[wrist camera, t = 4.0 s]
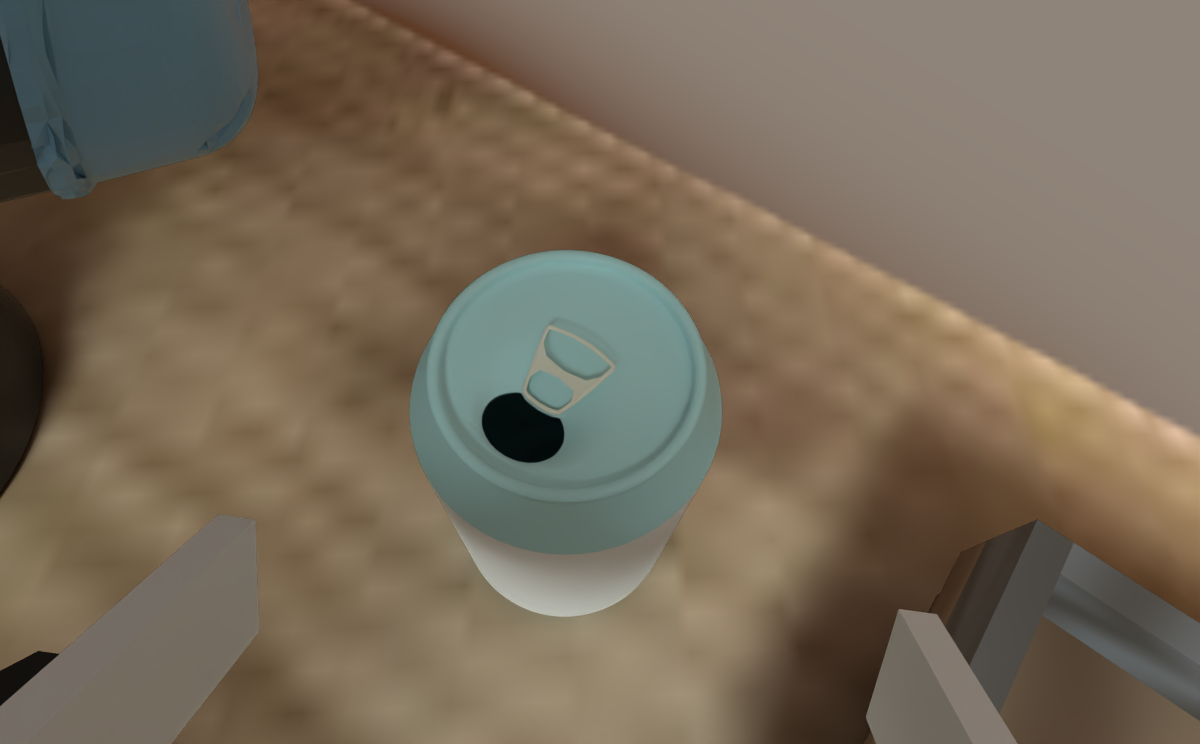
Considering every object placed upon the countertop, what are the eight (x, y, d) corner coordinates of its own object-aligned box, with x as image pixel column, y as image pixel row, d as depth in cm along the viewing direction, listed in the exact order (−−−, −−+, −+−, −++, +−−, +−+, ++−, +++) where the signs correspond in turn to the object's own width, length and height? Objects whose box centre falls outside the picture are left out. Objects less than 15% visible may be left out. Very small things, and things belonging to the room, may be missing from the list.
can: (674, 613, 24) (764, 525, 13) (463, 624, 23) (377, 542, 13) (655, 420, 27) (715, 220, 16) (469, 427, 26) (404, 225, 16)
